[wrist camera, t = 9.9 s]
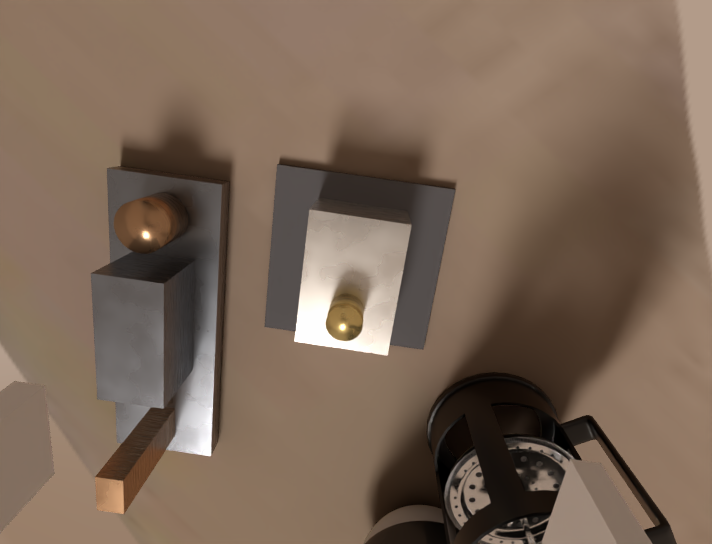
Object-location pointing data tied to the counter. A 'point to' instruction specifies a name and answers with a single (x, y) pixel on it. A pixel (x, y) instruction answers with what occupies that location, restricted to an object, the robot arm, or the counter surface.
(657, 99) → the counter surface
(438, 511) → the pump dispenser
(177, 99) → the counter surface
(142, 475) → the grey stand
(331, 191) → the mat
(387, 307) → the white box with knob
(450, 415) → the french press
